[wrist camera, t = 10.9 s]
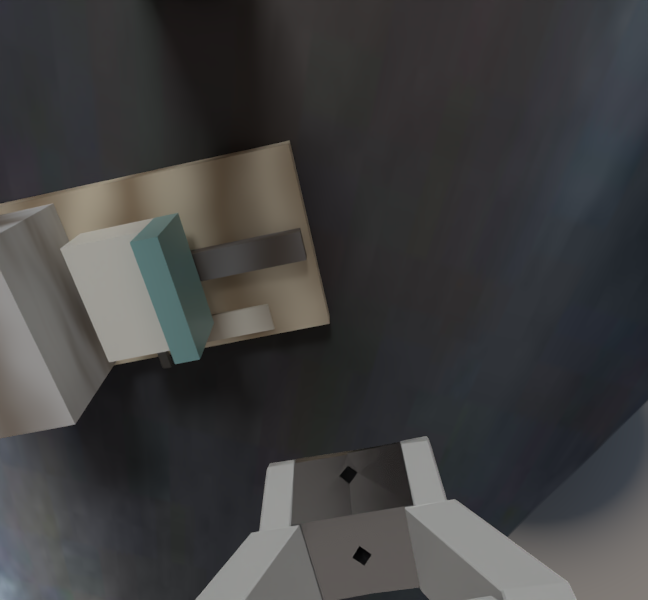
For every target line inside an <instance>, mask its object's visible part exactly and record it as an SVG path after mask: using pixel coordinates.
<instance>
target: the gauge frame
mask: <svg viewBox="0 0 648 600" xmlns="http://www.w3.org/2000/svg"><path fill="white" fill-rule="evenodd" d="M175 213H178V214H179V217H180V220H181V223H182V226H183V229H184V232H185V235H186V239H187V242H188V245H189V248H190V251H191V254H192V257H193V260H194V263H195V266H196V269H197V272H198V275H199V278H200V281H201V284H202V287H203V290H204V294H205V297H206V300H207V303H208V306H209V309H210V312H211V315H212V318H213V321H214V324H213V327H212V330H211V332H210V335H209V337H208V340H207V343H206V345H205V348H206V347H211V346H216V345H221V344H227V343H232V342H237V341H242V340H247V339H253V338H258V337H263V336H268V335H273V334H278V333H284V332H289V331H294V330H299V329H304V328H310V327H315V326H320V325H325V324H330V317H329V311H328V306H327V302H326V298H325V293H324V289H323V284H322V280H321V276H320V271H319V267H318V263H317V258H316V254H315V249H314V245H313V241H312V236H311V232H310V227H309V223H308V219H307V214H306V210H305V206H304V201H303V197H302V192H301V188H300V184H299V179H298V175H297V170H296V166H295V162H294V157H293V153H292V149H291V144H290V141H285V142H280V143H276V144H271V145H267V146H262V147H258V148H253V149H248V150H244V151H239V152H235V153H230V154H226V155H221V156H216V157H212V158H207V159H203V160H198V161H194V162H189V163H184V164H180V165H175V166H171V167H166V168H162V169H157V170H152V171H148V172H143V173H139V174H134V175H130V176H125V177H120V178H116V179H111V180H107V181H102V182H98V183H93V184H88V185H84V186H79V187H75V188H70V189H66V190H61V191H56V192H52V193H47V194H43V195H38V196H34V197H29V198H25V199H20V200H15V201H11V202H6V203H2V204H0V438H5V437H10V436H16V435H21V434H26V433H32V432H37V431H43V430H48V429H53V428H59V427H64V426H69V425H75V424H76V422H77V421H78V419H79V418H80V416H81V415H82V413H83V412H84V410H85V409H86V407H87V406H88V404H89V403H90V401H91V399H92V398H93V396H94V395H95V393H96V392H97V390H98V389H99V387H100V386H101V384H102V383H103V381H104V380H105V378H106V377H107V375H108V373H109V372H110V370H111V369H112V367H113V366H114V365H118V364H123V363H128V362H133V361H138V360H144V359H149V358H154V357H158V354H157V353H155V354H150V355H145V356H140V357H135V358H129V359H124V360H119V361H114V362H109V361H108V359H107V357H106V354H105V352H104V350H103V348H102V345H101V343H100V341H99V338H98V336H97V334H96V331H95V329H94V327H93V324H92V322H91V320H90V317H89V315H88V313H87V310H86V308H85V306H84V303H83V301H82V299H81V296H80V294H79V292H78V289H77V287H76V285H75V282H74V280H73V278H72V275H71V273H70V271H69V268H68V266H67V264H66V262H65V259H64V257H63V255H62V252H61V250H60V248H62V247H63V246H64V245H66V244H67V243H68V242H70V241H71V240H72V239H74V238H75V237H76V236H77V235H79V234H81V233H85V232H90V231H95V230H100V229H104V228H109V227H114V226H118V225H123V224H128V223H133V222H137V221H142V220H147V219H151V218H156V217H161V216H165V215H170V214H175ZM168 352H169V354H171V352H170V351H168Z"/></svg>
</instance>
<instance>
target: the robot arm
mask: <svg viewBox="0 0 648 600" xmlns="http://www.w3.org/2000/svg"><path fill="white" fill-rule="evenodd" d="M419 587H420V589H421V591H422V592H423V593H424V594H425V595H426V596H427V598H428V599H429V600H577V599H576V597H575V595H574V592H573V590H572V588H571V586H570V584H569V582H568V581H566V580H565V579H563V578H562V577H561V576H559V575H558V574H557V573H555V572H554V571H553V570H551V569H550V568H549V567H547V566H546V565H544V564H543V563H542V562H540V561H539V560H537V559H536V558H535V557H534V556H532V555H531V554H529V553H528V552H527V551H525V550H524V549H522V548H521V547H520V546H518V545H517V544H516V543H514V542H513V541H512V540H510V539H509V538H508V537H506V536H505V535H503V534H502V533H501V532H499V531H498V530H497V529H495V528H494V527H493V526H491V525H490V524H488V523H487V522H486V521H484V520H483V519H482V518H480V517H479V516H478V515H476V514H475V513H473V512H472V511H471V510H469V509H468V508H467V507H465V506H464V505H463V504H461V503H460V502H458V501H457V500H456V499H454V500H447V499H446V495H445V492H444V488H443V485H442V482H441V478H440V475H439V472H438V468H437V465H436V461H435V458H434V455H433V451H432V448H431V445H430V441H429V439H428V438H427V437H426V436H424V437H419V438H414V439H409V440H404V441H400V442H398V443H392V444H387V445H381V446H375V447H370V448H364V449H359V450H353V451H346V452H340V453H333V454H326V455H320V456H313V457H306V458H300V459H296V460H289V461H283V462H276V463H270V464H269V466H268V468H267V472H266V480H265V488H264V496H263V504H262V512H261V521H260V529H259V532H254V533H251V534H250V535H249V536H248V537H247V539H246V540H245V541H244V542H243V543H242V545H241V546H240V547H239V548H238V549H237V551H236V552H235V553H234V554H233V555H232V557H231V558H230V559H229V560H228V561H227V563H226V564H225V565H224V566H223V567H222V569H221V570H220V571H219V572H218V573H217V574H216V576H215V577H214V578H213V579H212V580H211V582H210V583H209V584H208V585H207V586H206V588H205V589H204V590H203V591H202V592H201V594H200V595H199V596H198V597H197V598H196V600H338V599H344V598H349V597H354V596H360V595H365V594H371V593H379V592H387V591H395V590H403V589H411V588H419Z"/></svg>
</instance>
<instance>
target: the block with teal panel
mask: <svg viewBox="0 0 648 600" xmlns="http://www.w3.org/2000/svg"><path fill="white" fill-rule="evenodd" d="M60 250H61V252H62V255H63V257H64V259H65V262H66V264H67V266H68V268H69V271H70V273H71V275H72V278H73V280H74V282H75V285H76V287H77V289H78V292H79V294H80V296H81V299H82V301H83V303H84V306H85V308H86V310H87V313H88V315H89V317H90V320H91V322H92V324H93V327H94V329H95V331H96V334H97V336H98V338H99V341H100V343H101V345H102V348H103V350H104V352H105V354H106V357H107V359H108V361H109V362H114V361H119V360H124V359H129V358H135V357H140V356H145V355H150V354H155V353H157V354H158V357H159V359H160V362H161V365H162V367H163V369H165V368H170V367H172V364H173V363H172V360H171V357H170V355H169V352H168V351H170V352H171V355H172V358H173V360H174V363H175V364H179V363H184V362H189V361H195V360H200V358H201V356H202V353H203V351H204V348H205V345H206V343H207V340H208V337H209V335H210V332H211V330H212V327H213V324H214V321H213V318H212V315H211V312H210V309H209V306H208V303H207V300H206V297H205V294H204V290H203V287H202V284H201V281H200V278H199V275H198V272H197V269H196V266H195V263H194V260H193V257H192V254H191V251H190V248H189V245H188V242H187V239H186V235H185V232H184V229H183V226H182V223H181V220H180V217H179V214H178V213H175V214H170V215H165V216H161V217H156V218H151V219H147V220H142V221H137V222H133V223H128V224H123V225H118V226H114V227H109V228H104V229H100V230H95V231H90V232H85V233H81V234H79V235H77V236H76V237H75V238H74V239H72V240H71V241H70V242H68V243H67V244H66V245H64V246H63V247H62V248H60Z"/></svg>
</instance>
